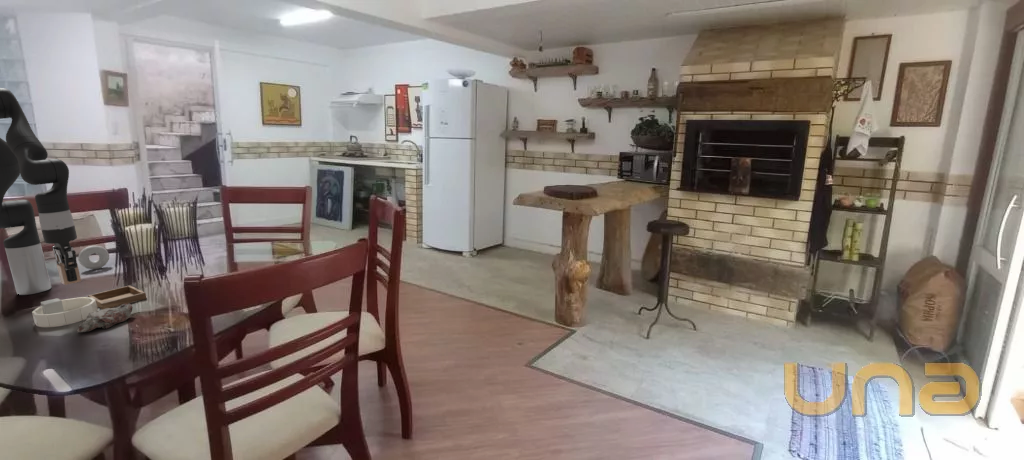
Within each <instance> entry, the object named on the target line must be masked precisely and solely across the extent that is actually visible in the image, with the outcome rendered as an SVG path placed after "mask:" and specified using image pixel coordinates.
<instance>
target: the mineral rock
mask: <svg viewBox="0 0 1024 460" xmlns="http://www.w3.org/2000/svg"><path fill="white" fill-rule="evenodd" d="M132 311H133V305H132V303H128V304H123V305H121V306H117V307H113V308H106V309H100V310H99V309H98V311H97V312H96V313H93V312H92V313H89V314H88V316H87V319H85V320H83V322H81V324H79V326H78V328H77V331H76V333H83V332H84V333H85V332H91V331H93V330H95V329H97V328H101V327H102V328H101V329H104V330H106V329H109V328H111V327H113V326H115V325H116V324H119V323H122V322H125V321H127V320H128V319H129V318H130V317H131V314H132ZM105 328H106V329H105Z"/></svg>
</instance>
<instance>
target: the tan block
mask: <svg viewBox="0 0 1024 460" xmlns="http://www.w3.org/2000/svg"><path fill="white" fill-rule="evenodd" d="M71 264H72V263H71V262H70V263H68V265H71ZM56 269H57V272H58V277H59V281H60V283H61V284H63V286H67V285H70V284H76V283H80V282H82V278H81V275H80V271H79V270H80V269H79V265H78V264H77V268H76V269H75V271H76V275H77V280H76V281H72V282H69V281H68V280H67V276H66V272H65V270H64V265H63V264H62V263H61V264H57V263H56Z"/></svg>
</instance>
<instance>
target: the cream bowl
mask: <svg viewBox="0 0 1024 460" xmlns="http://www.w3.org/2000/svg"><path fill="white" fill-rule="evenodd" d="M60 300H61V301H62V305H63V309H64V312H61V313H54V314H43V310H42V306H41V305H40V306H38V307H36V308H35V309H33V311H31V314H32V317H33V318H32V319H33V321H34V324H35V325H36V327H39V328H55V327H62V326H68V325H71V324H76V323H79V322H81V321H85V319H87V316H88V314H89V313H92V312H93V313H96V312H97V311H99V309H98V308H99V307H97V304H96V300H95V299H93V298H91V297H88V296H87V297H84V296H82V297H81V296H80V297H74V298H73V297H72V298H66V299H60Z"/></svg>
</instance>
